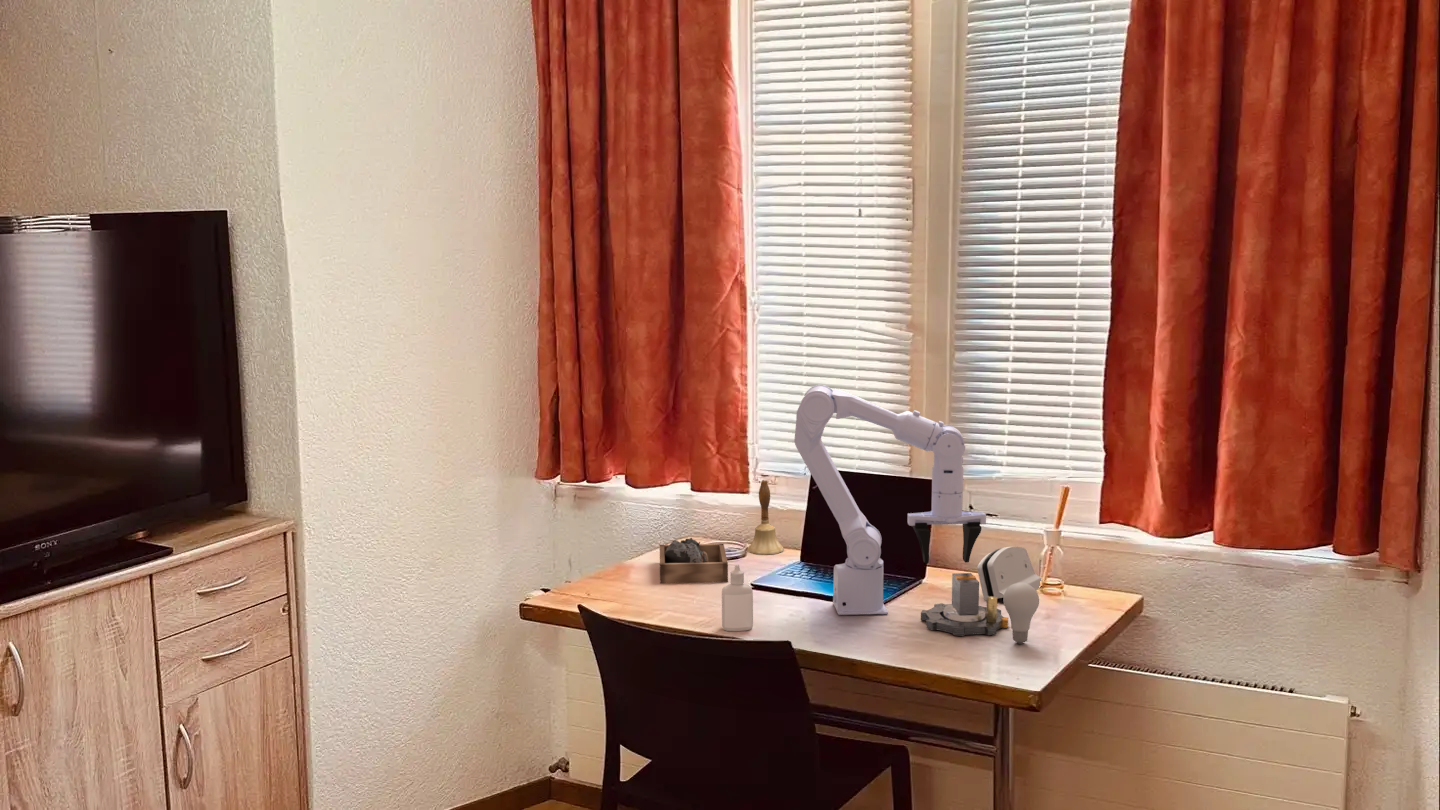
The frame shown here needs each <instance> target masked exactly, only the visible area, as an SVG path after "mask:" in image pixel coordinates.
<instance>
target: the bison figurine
mask: <svg viewBox="0 0 1440 810" xmlns="http://www.w3.org/2000/svg"><path fill="white" fill-rule="evenodd" d="M699 544H701V541H699V542H698V541H697V540H696V539H693V538H692V537H690V538H686V539H683V540H680V541H678V540H676V539H675V540H672V542H671V543H669V544H668V545H669V546H668V548H667V550H666V552H665V553H664V555H665V563H704V562H709V561H708V557H707V553H706V552H704V551H702V552H701V551H700V548H699Z"/></svg>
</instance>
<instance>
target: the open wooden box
mask: <svg viewBox="0 0 1440 810" xmlns="http://www.w3.org/2000/svg"><path fill="white" fill-rule="evenodd" d="M669 545H670V544H659V583H660V584H693V583H694V584H696V583H697V584H699V583H700V584H701V583H704V584H705V583H707V584H709V583H729V563H728V557H727V553H726V548H725V544H724V543H700V544H699V548H700V551H701V552H702V551H704V552H706V553H707V557H708V561H709V562H704V563H665V555H664V553H665V552H666V550H667V548H668V546H669Z"/></svg>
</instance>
